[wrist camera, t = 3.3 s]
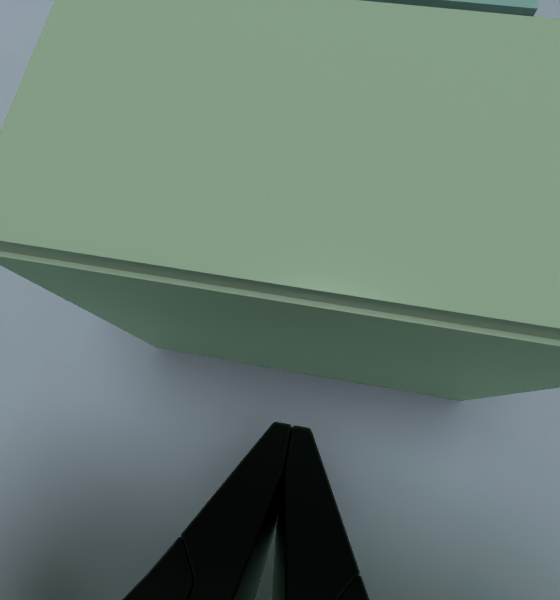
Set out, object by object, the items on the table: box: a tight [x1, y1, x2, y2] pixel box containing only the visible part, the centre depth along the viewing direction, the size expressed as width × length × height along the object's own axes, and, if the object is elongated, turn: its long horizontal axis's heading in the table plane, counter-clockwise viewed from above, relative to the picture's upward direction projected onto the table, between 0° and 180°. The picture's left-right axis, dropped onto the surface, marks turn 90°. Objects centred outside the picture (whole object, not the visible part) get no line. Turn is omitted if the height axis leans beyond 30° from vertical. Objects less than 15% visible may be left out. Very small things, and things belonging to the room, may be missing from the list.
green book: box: [0, 0, 560, 401], centre depth 12 cm, size 6×12×11 cm, turn 80°
